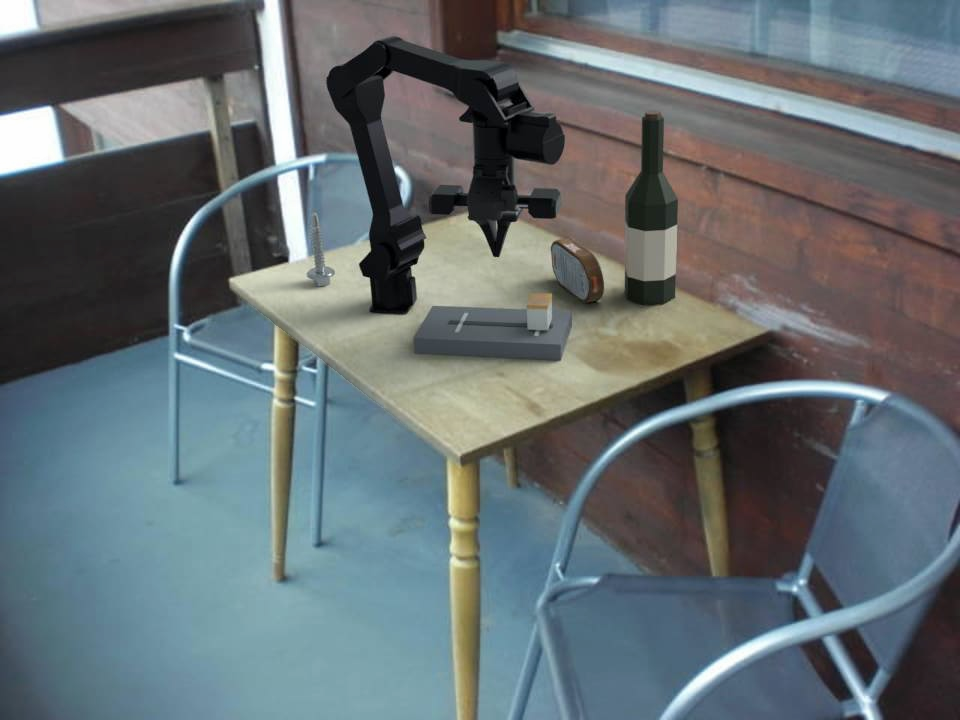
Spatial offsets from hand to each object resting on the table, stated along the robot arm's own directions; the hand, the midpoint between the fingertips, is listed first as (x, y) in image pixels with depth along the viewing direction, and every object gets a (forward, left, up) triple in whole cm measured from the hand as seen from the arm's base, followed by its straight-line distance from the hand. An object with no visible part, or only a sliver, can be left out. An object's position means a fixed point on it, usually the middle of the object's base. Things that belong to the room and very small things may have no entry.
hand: (496, 256), depth 171 cm
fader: (+7, -3, -10) cm, 12 cm away
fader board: (0, -3, -12) cm, 13 cm away
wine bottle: (+22, +16, -13) cm, 30 cm away
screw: (-34, +16, -13) cm, 40 cm away
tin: (+10, +16, -13) cm, 23 cm away
